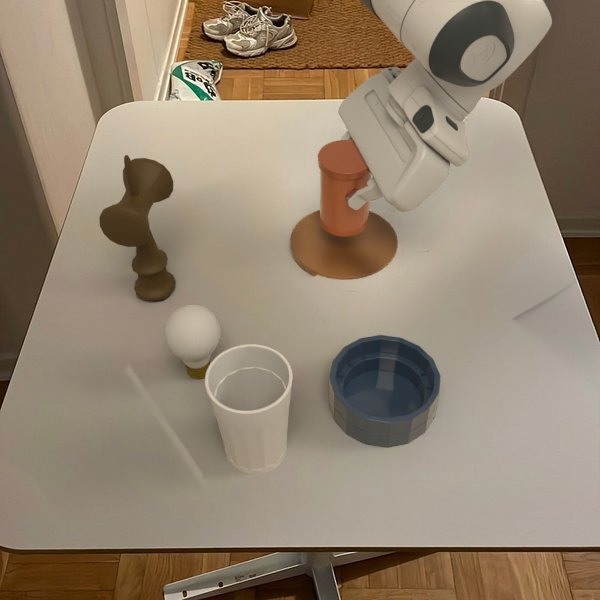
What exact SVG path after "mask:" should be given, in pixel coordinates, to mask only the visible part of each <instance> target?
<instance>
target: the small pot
mask: <svg viewBox="0 0 600 600" xmlns="http://www.w3.org/2000/svg"><path fill="white" fill-rule="evenodd" d="M317 166H318V168H319V210H320V223H321V226H322V227H323V229H324V230H326V231H327V232H328V233H330V234H333V235H336V236H343V237H347V236H353V235H357V234H359V233H361V232H362V231H364V230H365V228H366V227H367V225H368V219H369V211H370V204H371V201H369V202H366V203H365V204H364V205H363V206H362V207H361V208H360V209H359V210H354V209H352V208H351V207H349V205H348V203H347V201H346V199H345V196H346V195H347V194H349V193H350V191H351V190H352V189H353V188H355V189H357V190H360V189H362V188H364V187H367V186H368V184H367V182H368V181H369V180H370V179H371V178H372V174H371V172H370V170H369V169H368V167H367V165H366V163H365V161H364V159H363V158H362V156H361V154H360V152H359V150H358V148H357V147H356V145H355V143H354V141H353V140H341V139H339V140H334V141H330V142H328V143H326V144H325V145H324V146H322V147H321V148H320V149H319V151H318V153H317Z"/></svg>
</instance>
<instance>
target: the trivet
mask: <svg viewBox="0 0 600 600" xmlns="http://www.w3.org/2000/svg"><path fill="white" fill-rule="evenodd" d="M398 242H399V241H398V236H397V233H396V231H395V228H393V226H392V225H391V224H390V222H388V221H387V220H386V219H385V218H383V216H381V215H379V214H377V213H375V212H373V211H371V210H369V219H368V225H367V227H366V228H365V230H364V231H362V232H361V233H359V234H357V235H353V236H347V237H343V236H336V235H333V234H330V233H328V232H327V231H326V230H324V229H323V227H322V226H321V223H320V209H318V210H316V211H313V212H311V213H309V214H307V215H306V216H304V217H303V218H302V219H300V221H298V222H297V224H296V225H295V226H294V228H293V230H292V232H291V234H290V251H291V255H292V258H293V259H294V261H295V262H296V264H297V265H298V266H299V267H300V268H301V269H302V270H303V271H305V272H306V273H308V274H309V275H311V276H313V277H316V276H320V277H324V278H326V279H332V280H341V281H347V280H349V281H350V280H359V279H363V278H367V277H370V276H372V275H375V274H377V273H379V272H381V271H383V270H384V269H385V268H387V267H388V266H389V265H390V263H392V261H393V260H394V258H395V257H396V254H397V251H398Z"/></svg>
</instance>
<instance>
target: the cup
mask: <svg viewBox="0 0 600 600" xmlns="http://www.w3.org/2000/svg"><path fill="white" fill-rule="evenodd" d="M293 377H294V375H293V370H292V367H291V364H290V362H289V361H288V360H287V358H286V357H285V356H284V355H283V354H282V353H281V352H279V351H278V350H276V349H274V348H272V347H270V346H267V345H263V344H257V343H246V344H240V345H235V346H233V347H230V348H228V349H226V350H224V351H222V352H221V353H219V354H218V355H217V356H216V357H215V358H214V359H213V360H212V361H210V365H209V367H208V369H207V372H206V375H205V377H204V387H205V391H206V394H207V397H208V399H209V402H210V403H209V404H210V405H211V408H212V411H213V413H214V416H215V419H216V422H217V425H218V429H219V432H220V435H221V439H222V442H223V447H224V451H225V456H226V459H227V460H228V462H229V464H230V465H231V466H233V468H235V469H236V470H238V471H240V472H242V473H245V474H249V475H260V474H264V473H268V472H270V471H272V470H274V469H275V468H277V467H278V466H279V465H280V464H281V463H282V462H283V460H284V459H285V457H286V455H287V451H288V430H289V416H290V415H289V414H290V404H291V399H292V388H293Z"/></svg>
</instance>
